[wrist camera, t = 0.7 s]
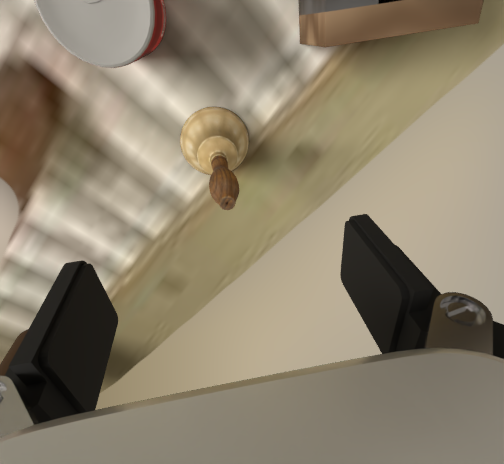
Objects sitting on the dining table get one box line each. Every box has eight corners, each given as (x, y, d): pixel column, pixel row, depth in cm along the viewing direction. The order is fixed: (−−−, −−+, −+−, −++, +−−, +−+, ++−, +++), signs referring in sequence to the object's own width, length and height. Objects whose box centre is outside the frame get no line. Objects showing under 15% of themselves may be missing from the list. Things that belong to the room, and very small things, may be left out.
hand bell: (245, 102, 36) (272, 145, 23) (251, 169, 41) (277, 237, 27) (173, 110, 35) (158, 159, 22) (187, 178, 40) (182, 252, 27)
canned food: (127, -66, 27) (91, -114, 18) (183, 28, 31) (178, 28, 22) (61, -11, 28) (-3, -30, 19) (124, 72, 33) (95, 89, 24)
